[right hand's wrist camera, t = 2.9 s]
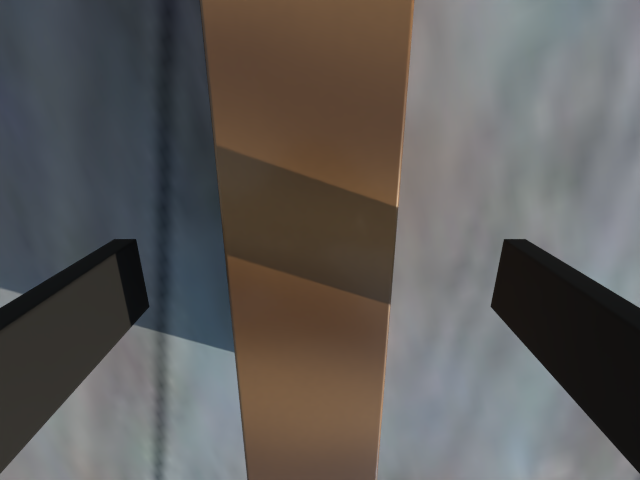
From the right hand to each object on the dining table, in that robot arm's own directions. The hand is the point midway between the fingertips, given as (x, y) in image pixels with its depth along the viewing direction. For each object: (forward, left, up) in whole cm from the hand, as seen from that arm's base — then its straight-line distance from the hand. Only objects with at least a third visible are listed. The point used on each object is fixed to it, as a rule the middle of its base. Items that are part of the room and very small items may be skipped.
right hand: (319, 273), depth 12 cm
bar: (+8, +25, -5) cm, 26 cm away
